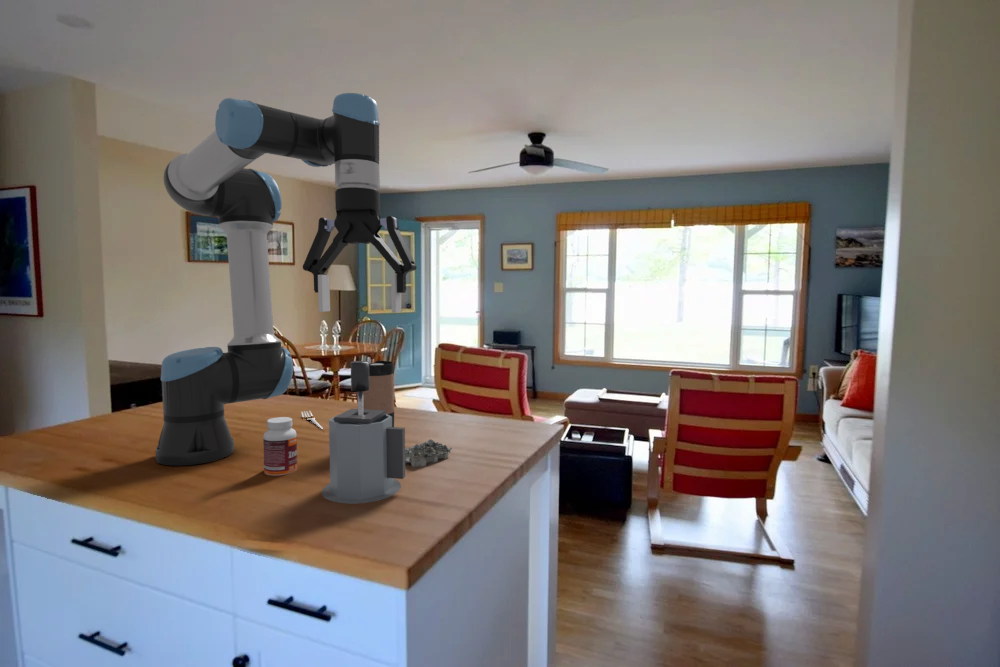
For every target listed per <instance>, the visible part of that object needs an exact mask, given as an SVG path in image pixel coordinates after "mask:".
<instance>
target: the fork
mask: <svg viewBox="0 0 1000 667" xmlns="http://www.w3.org/2000/svg"><path fill="white" fill-rule="evenodd" d="M311 416H314V415H313V414H312V411H311V410H309V412H308V411H307V410H306V411H305V410H304V411H301V418H302V417H305V418H306V417H311ZM315 419H316V418H315V417H314V418H308V419H307V420H311V421H312V422H313V423H314V424H316V425H317V426H318V427H320V428H321V429H323V428H324V427H323V426H322V425H320V423H319V422H317V420H315ZM311 421H310V422H311ZM312 422H311V423H312ZM313 423H312V424H313ZM314 424H313V425H314ZM317 426H316V427H317ZM318 427H317V428H318ZM320 428H319V429H320ZM321 429H320V430H321Z"/></svg>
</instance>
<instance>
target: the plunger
mask: <svg viewBox="0 0 1000 667" xmlns="http://www.w3.org/2000/svg"><path fill="white" fill-rule="evenodd" d="M369 364H370V361H369V360H354V361H350V391H352V392H356V393H357V409H358V415H364V406H363V391H368V390H370V386H369ZM363 424H364V423H358V425H363Z"/></svg>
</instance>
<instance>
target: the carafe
mask: <svg viewBox="0 0 1000 667" xmlns="http://www.w3.org/2000/svg"><path fill="white" fill-rule="evenodd" d="M358 423H364V424H363V425H358ZM328 437H329V441H328V442H329V444H328V445H329V483H330V490H331V491H332V492H333V493H334V494H335V495H336V496H337V497H338V498H346V499H358V500H362V499H366V498H371V497H375V496H380V495H384V494H385V493H386V492H387V491H388V490H389V489H390V488H391V487H392V486H393V478H394V479H396V480H397V479H398V480H400V479H401V480H403V479H405V478H406V463H405V449H406V427H398V426H397V427H396V426H394V427H392V416H390V415H388V414H386V410H369V409H364V415H358V408H350V409H348V410H345V411H344V412H342V413H339V414H337V415H335V416H333V417H331V418H329V419H328Z"/></svg>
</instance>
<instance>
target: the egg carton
mask: <svg viewBox="0 0 1000 667" xmlns="http://www.w3.org/2000/svg"><path fill="white" fill-rule="evenodd" d="M451 450H453V447H450V448H448V446H447V445H446V444H445V445H444V444H442V443H439V441H437V442H436V441H434V440H432V439H431V438H430V439H428V440H427V441H425V442H421V443H420V444H418V443H417V444H415V445H413V446H409V447H407V448H406V447H405V464H411V467H413V468H416V467H417V468H418V467H425V466H427V463H436V462H438V461H439V459H447V458H448V457H449V453H450V454H451Z"/></svg>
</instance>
